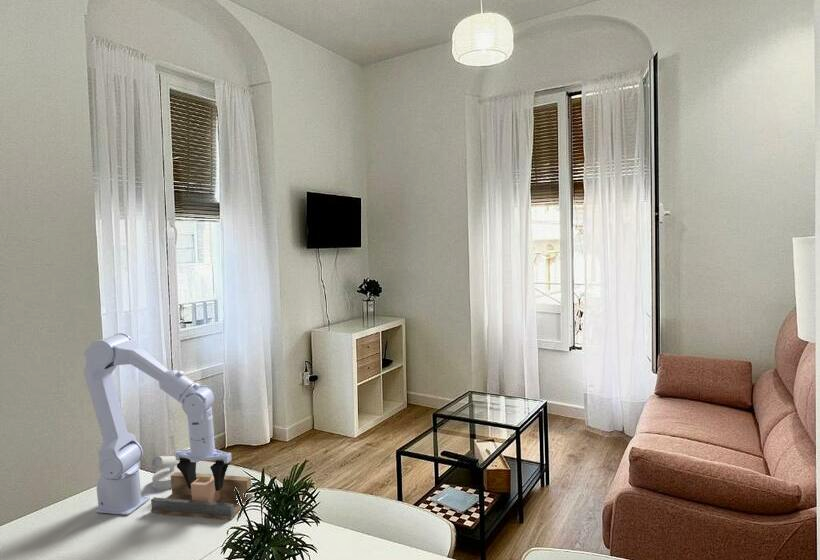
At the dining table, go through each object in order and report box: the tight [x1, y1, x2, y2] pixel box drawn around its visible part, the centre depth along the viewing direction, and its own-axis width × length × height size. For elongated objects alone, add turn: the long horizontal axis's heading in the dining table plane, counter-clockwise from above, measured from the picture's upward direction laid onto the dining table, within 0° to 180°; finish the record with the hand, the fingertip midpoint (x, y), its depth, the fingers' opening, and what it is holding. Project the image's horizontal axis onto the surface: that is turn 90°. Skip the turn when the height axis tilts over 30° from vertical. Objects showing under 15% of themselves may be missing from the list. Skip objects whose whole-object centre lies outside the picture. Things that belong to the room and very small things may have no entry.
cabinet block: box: [191, 474, 220, 502], centre depth 130 cm, size 4×5×7 cm
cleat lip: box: [150, 496, 234, 516], centre depth 126 cm, size 22×1×2 cm, turn 78°
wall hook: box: [151, 455, 181, 491], centre depth 143 cm, size 9×10×10 cm
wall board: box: [150, 472, 253, 521], centre depth 130 cm, size 22×10×6 cm, turn 78°
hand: (205, 487), depth 130 cm, fingers open, 7 cm apart
